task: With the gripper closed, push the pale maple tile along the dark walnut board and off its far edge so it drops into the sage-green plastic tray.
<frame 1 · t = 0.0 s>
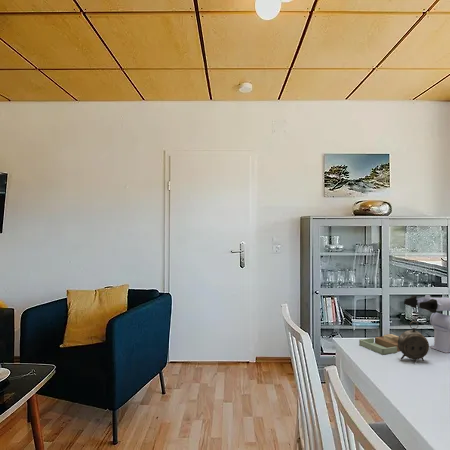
hand: (412, 303, 159), 22 cm above the table, tool horizontal, fingers open, 7 cm apart
sage tray: (377, 348, 167), on the table
alarm clock: (413, 361, 152), on the table
walnut board: (392, 346, 170), on the table
maple tile: (391, 340, 170), point 3 cm above the table, touching walnut board
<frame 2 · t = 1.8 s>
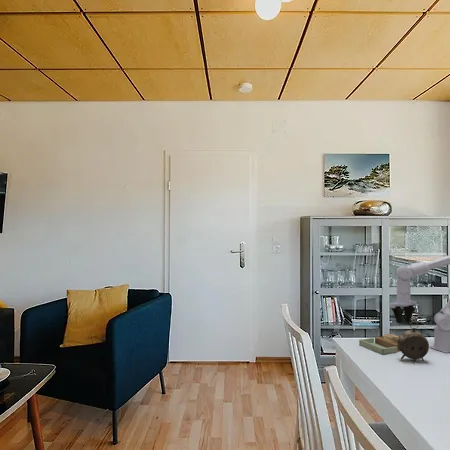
hand: (403, 322, 172), 10 cm above the table, tool pointing down, fingers open, 5 cm apart
nothing on the table moved.
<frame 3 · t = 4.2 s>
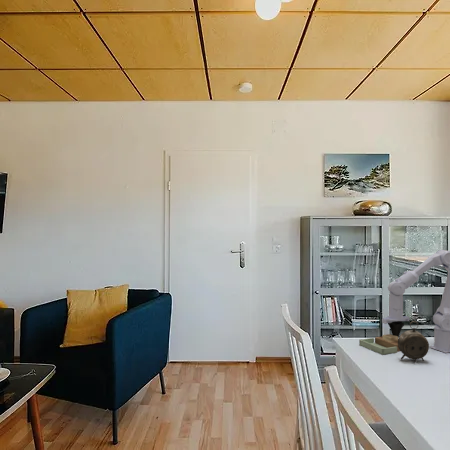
hand: (395, 337, 171), 4 cm above the table, tool pointing down, fingers closed
maple tile: (390, 340, 169), point 3 cm above the table, touching gripper, walnut board
everything else where it was.
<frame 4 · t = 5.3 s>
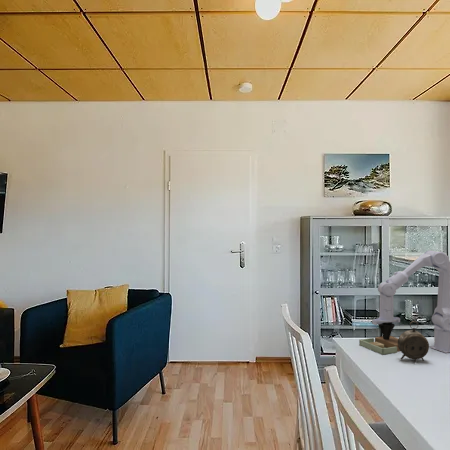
hand: (386, 339, 168), 4 cm above the table, tool pointing down, fingers closed
maple tile: (376, 343, 166), point 2 cm above the table, tilted 180°, touching sage tray
everything else where it was.
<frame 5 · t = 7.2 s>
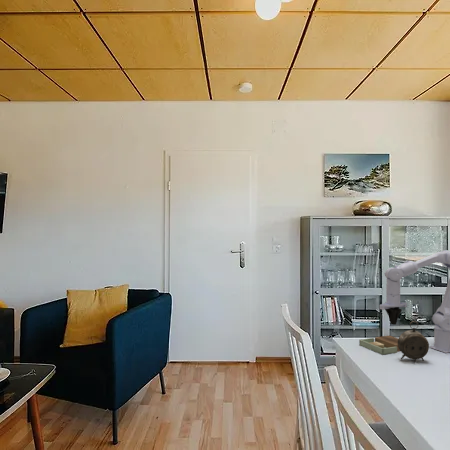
hand: (393, 324, 170), 10 cm above the table, tool pointing down, fingers closed
nothing on the table moved.
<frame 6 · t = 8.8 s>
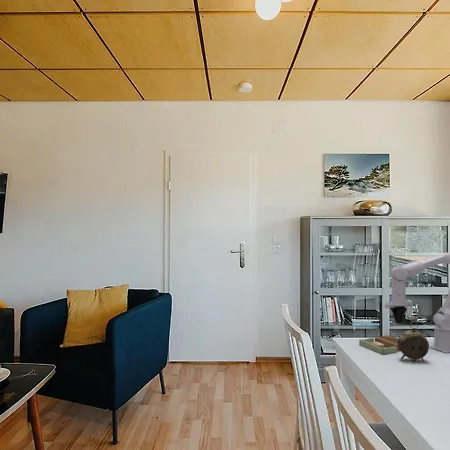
hand: (398, 323, 171), 10 cm above the table, tool pointing down, fingers closed
nothing on the table moved.
at the end: maple tile inside the target area (0.9 cm from its centre), point 2.4 cm above the table; maple tile touching sage tray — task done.
